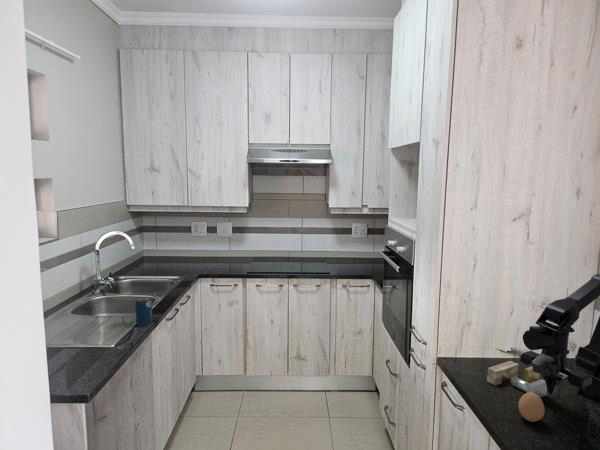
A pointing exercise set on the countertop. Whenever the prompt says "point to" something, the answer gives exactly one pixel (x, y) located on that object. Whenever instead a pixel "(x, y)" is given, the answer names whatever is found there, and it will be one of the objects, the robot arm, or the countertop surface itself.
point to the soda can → (143, 311)
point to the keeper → (531, 375)
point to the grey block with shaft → (530, 386)
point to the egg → (531, 407)
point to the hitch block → (506, 368)
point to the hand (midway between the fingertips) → (551, 394)
